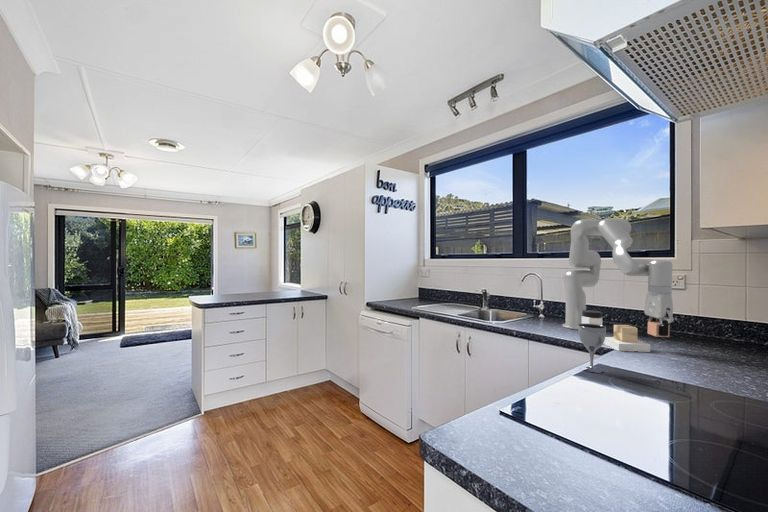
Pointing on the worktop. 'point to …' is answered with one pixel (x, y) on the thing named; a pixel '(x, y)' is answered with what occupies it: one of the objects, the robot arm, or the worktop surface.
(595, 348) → the wine glass
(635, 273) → the robot arm
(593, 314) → the jar
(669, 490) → the worktop surface
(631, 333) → the maple cube
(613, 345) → the plinth
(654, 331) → the terracotta cube
